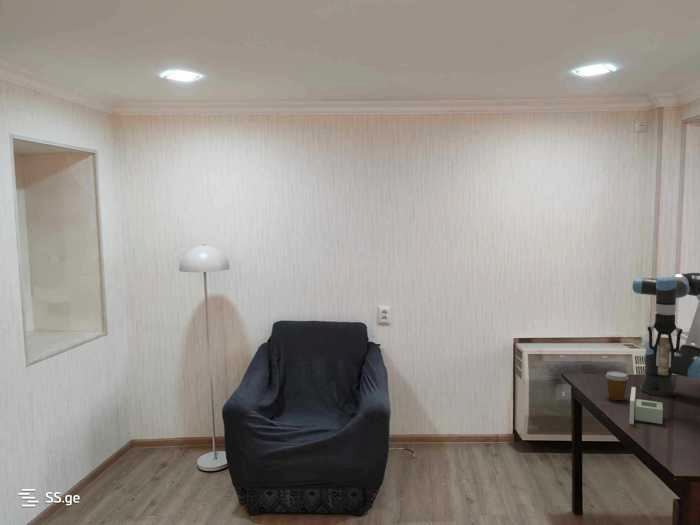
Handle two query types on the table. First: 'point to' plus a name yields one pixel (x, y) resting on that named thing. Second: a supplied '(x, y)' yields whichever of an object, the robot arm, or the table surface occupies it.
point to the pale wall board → (632, 405)
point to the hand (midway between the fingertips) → (663, 365)
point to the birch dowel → (663, 356)
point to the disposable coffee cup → (616, 384)
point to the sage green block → (649, 411)
